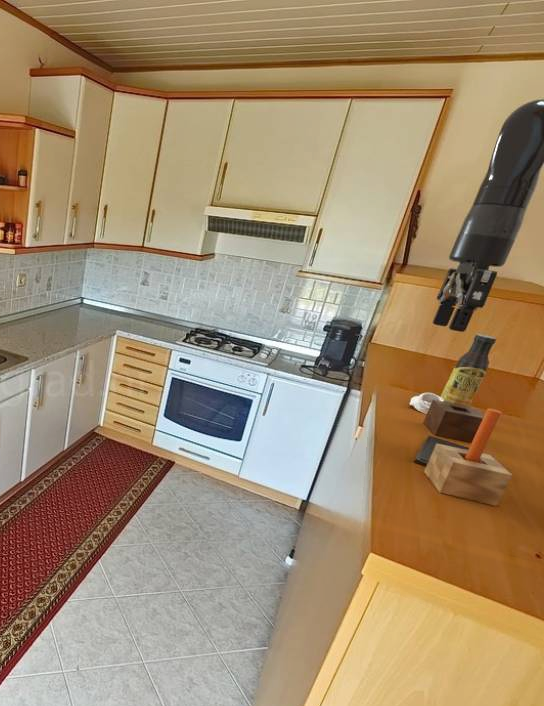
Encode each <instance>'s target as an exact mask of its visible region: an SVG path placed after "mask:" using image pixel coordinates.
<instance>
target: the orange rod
mask: <svg viewBox="0 0 544 706" xmlns="http://www.w3.org/2000/svg"><path fill="white" fill-rule="evenodd" d="M502 413H503V412H502V411H500V410H498V409H495V408H490V407H488V408H486V411H485V413H484V414H483V415H484V417H483V420H482V422H481V424H480V426H479V428H478V430H477V433H476V435H475V437H474V439H473V441H472V443H470V445H469V447H468V448H469V450H468V452H467V454H466V456H465V459H464V460H468V461H472V462H477V463H478V462H479V459H480V457H481V455H482V453H483V452H484V451H485V449H486V447H487V444H488V442H489V440H490V439H491V437H492V434H493V432H494V430H495V427H496V425H497V424H498V422H499V420H500V417H501V415H502Z"/></svg>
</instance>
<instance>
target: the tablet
mask: <svg viewBox="0 0 544 706" xmlns="http://www.w3.org/2000/svg"><path fill="white" fill-rule="evenodd" d="M436 443H437V444H442V445H447V446H451V447H456V448H460V449H465V450H469V448H470V447H468V446H464V445H460V444H457V443H455V442H451V441H448V440H445V439H441V438H438V437H435V436H432V435H428V436H427V437H426V439H425V441H424V443H423V444H422V446H421V448H420V449H419V451H418V453H417V454H416V457H415V458H414V460H413V463H415V464H418V465H421V466H424V467H426V466H427V464H428V462H429V459H430V457H431V455H432V452H433V450H434V448H435V445H436ZM483 453H484V454H488V455H491V456H492V457H493V458H494V459H495V455H493V454H489V453H487V452H484V451H483Z"/></svg>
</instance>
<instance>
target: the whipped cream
mask: <svg viewBox="0 0 544 706" xmlns="http://www.w3.org/2000/svg"><path fill="white" fill-rule="evenodd" d="M433 400H438V401H443V402H444V400H443V399H442V398H441V395H438V394H435V393H433V392H424V393H421V394H419V395H415V396H412V397H411V398H410V402H409V405H410V406H412V407H414V409H415V410H417V411H418V412H420V413H422V414H425V415H427V413H428V410H429V408H430V405H431V403H432V401H433Z"/></svg>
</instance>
